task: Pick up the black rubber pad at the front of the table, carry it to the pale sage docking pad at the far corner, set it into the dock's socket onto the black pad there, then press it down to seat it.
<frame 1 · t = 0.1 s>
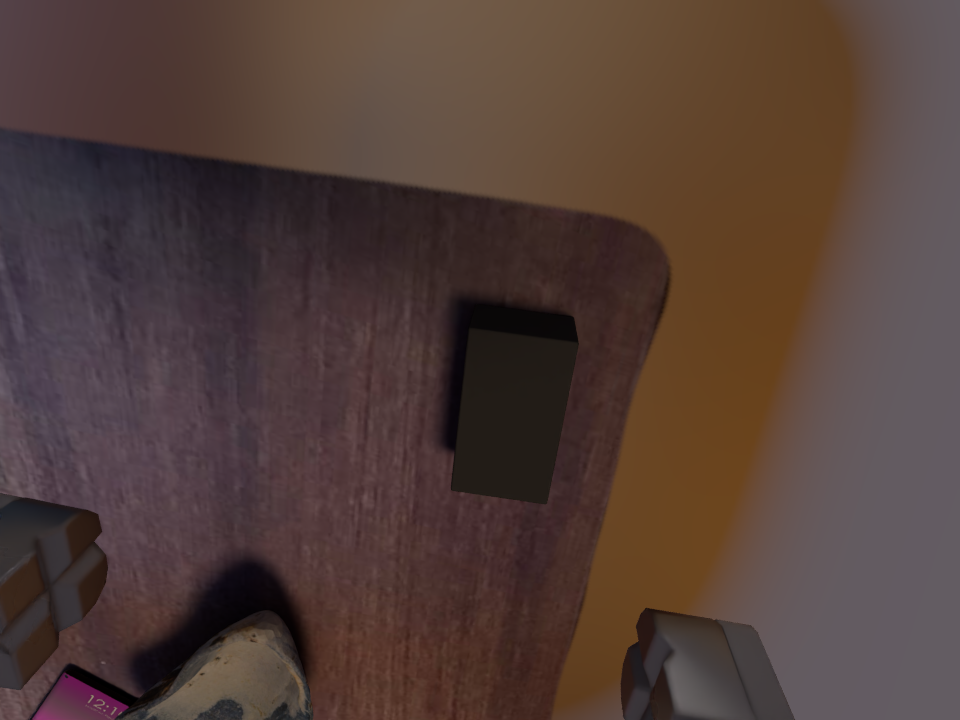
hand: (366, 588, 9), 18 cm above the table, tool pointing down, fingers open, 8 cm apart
black pad: (512, 389, 27), on the table
seashell: (236, 647, 36), on the table
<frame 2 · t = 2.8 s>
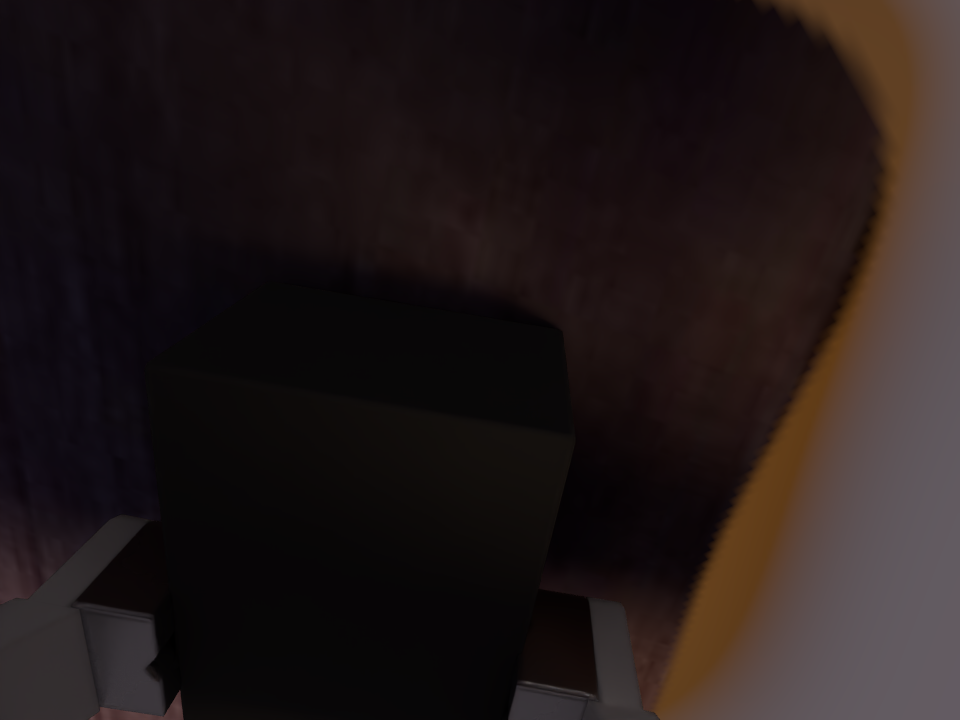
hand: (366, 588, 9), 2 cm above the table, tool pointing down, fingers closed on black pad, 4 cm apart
black pad: (393, 518, 10), on the table, touching gripper
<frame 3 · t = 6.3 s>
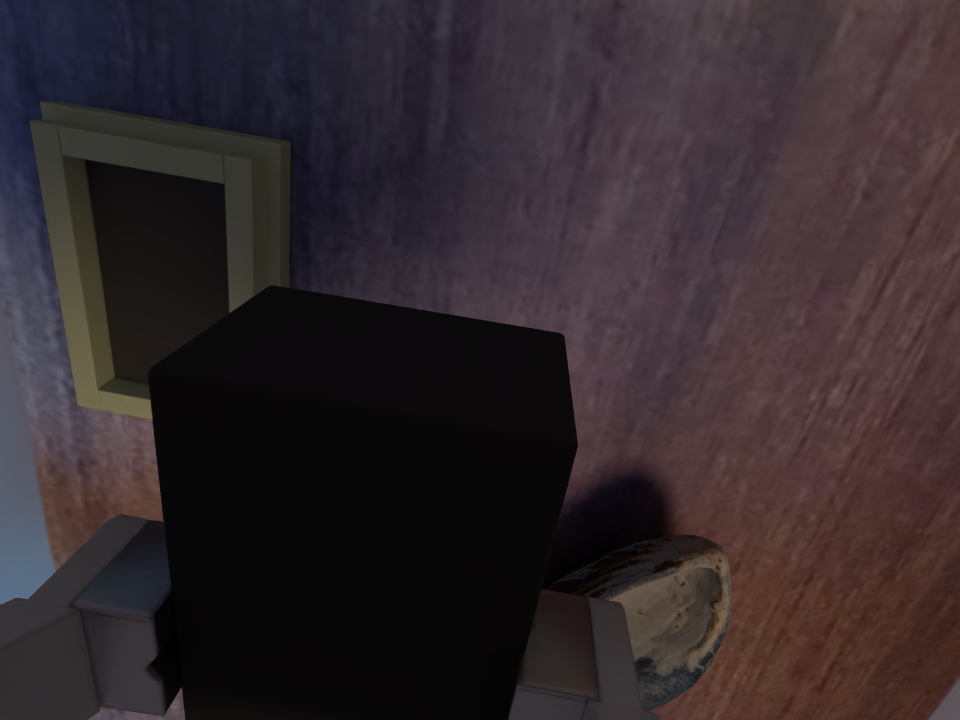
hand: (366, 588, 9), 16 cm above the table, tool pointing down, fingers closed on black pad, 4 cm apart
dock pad: (186, 280, 24), on the table
black pad: (394, 521, 10), point 14 cm above the table, touching gripper
seashell: (569, 589, 29), on the table
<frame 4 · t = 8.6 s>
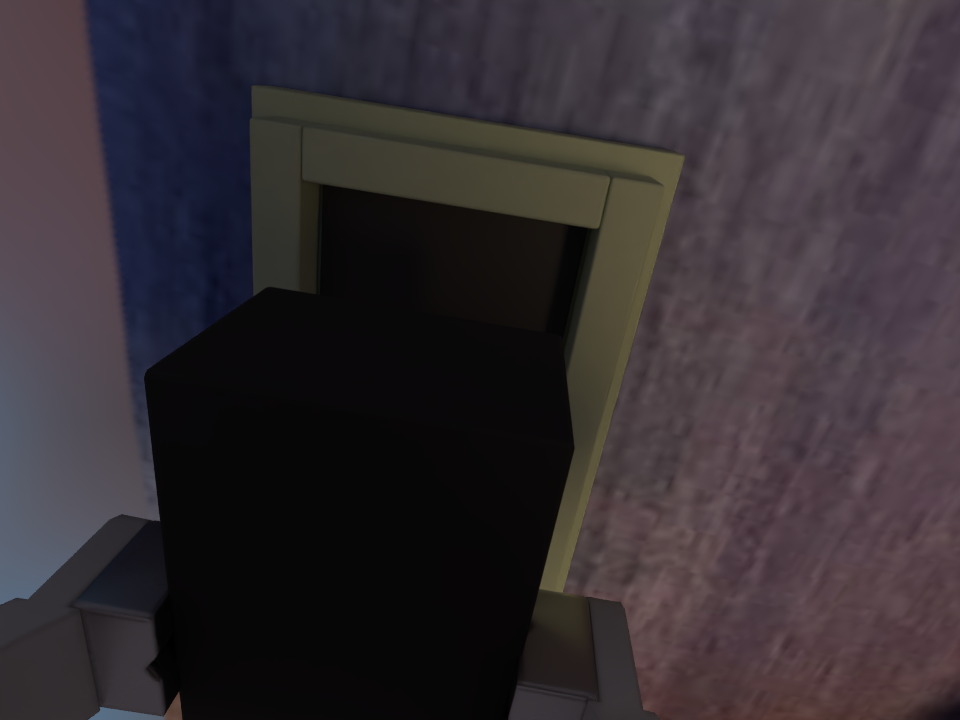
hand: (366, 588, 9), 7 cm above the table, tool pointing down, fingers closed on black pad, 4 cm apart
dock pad: (438, 374, 15), on the table
black pad: (392, 522, 10), point 5 cm above the table, touching gripper
when the fingers open (3 cm above the table, at t = 10.1 s): black pad stays where it is, resting on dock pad.
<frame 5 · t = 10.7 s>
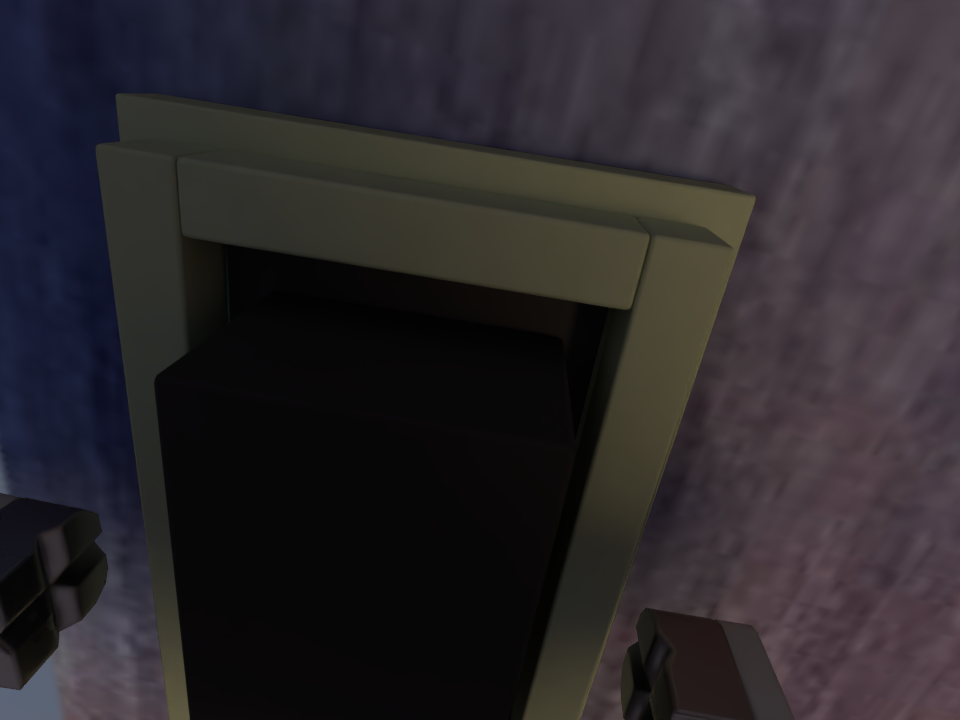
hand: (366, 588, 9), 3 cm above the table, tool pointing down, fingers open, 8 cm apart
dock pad: (406, 475, 11), on the table
black pad: (395, 523, 10), point 1 cm above the table, touching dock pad
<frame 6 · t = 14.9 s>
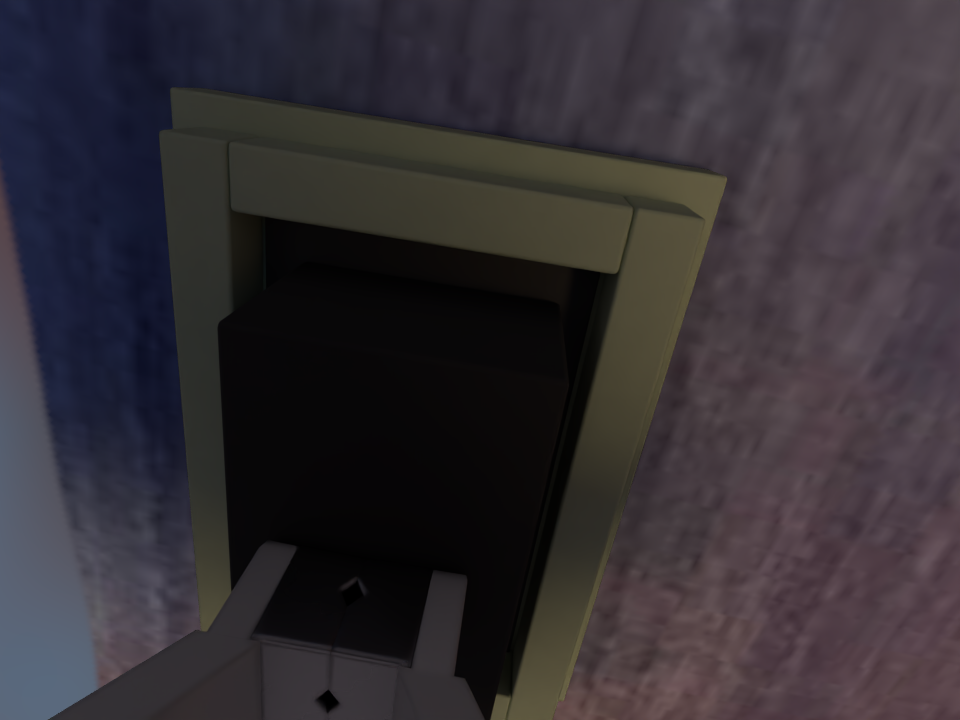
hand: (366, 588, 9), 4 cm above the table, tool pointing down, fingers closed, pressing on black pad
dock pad: (418, 435, 12), on the table
black pad: (410, 474, 11), point 1 cm above the table, touching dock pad, gripper
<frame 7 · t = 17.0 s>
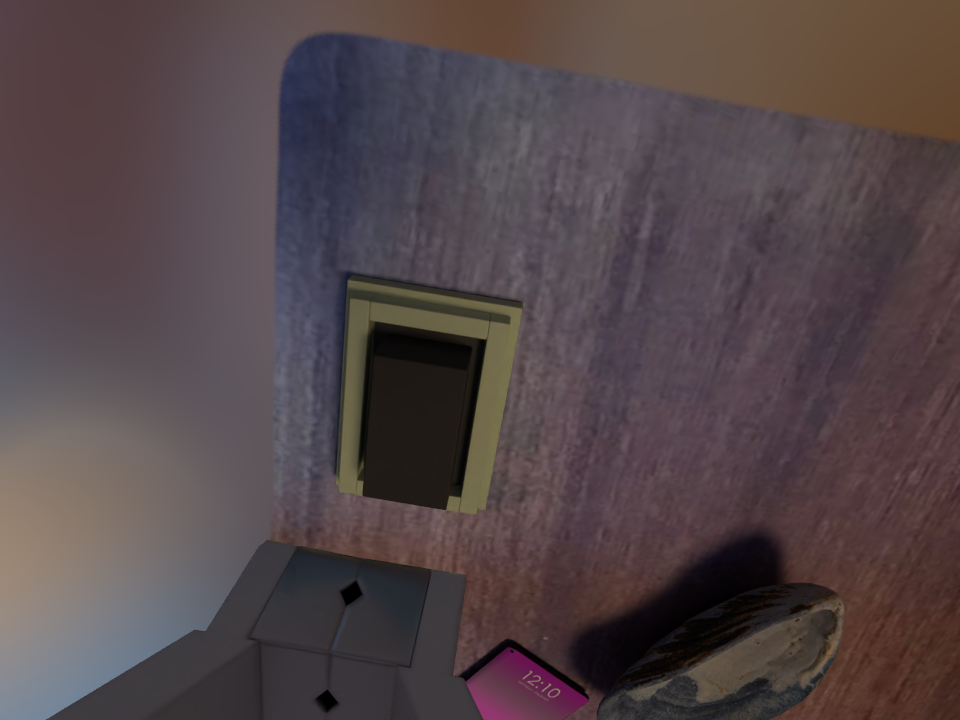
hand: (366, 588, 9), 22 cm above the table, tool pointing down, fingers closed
smartphone: (481, 717, 42), on the table
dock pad: (424, 395, 32), on the table
black pad: (421, 408, 31), point 1 cm above the table, touching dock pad
seashell: (695, 624, 37), on the table
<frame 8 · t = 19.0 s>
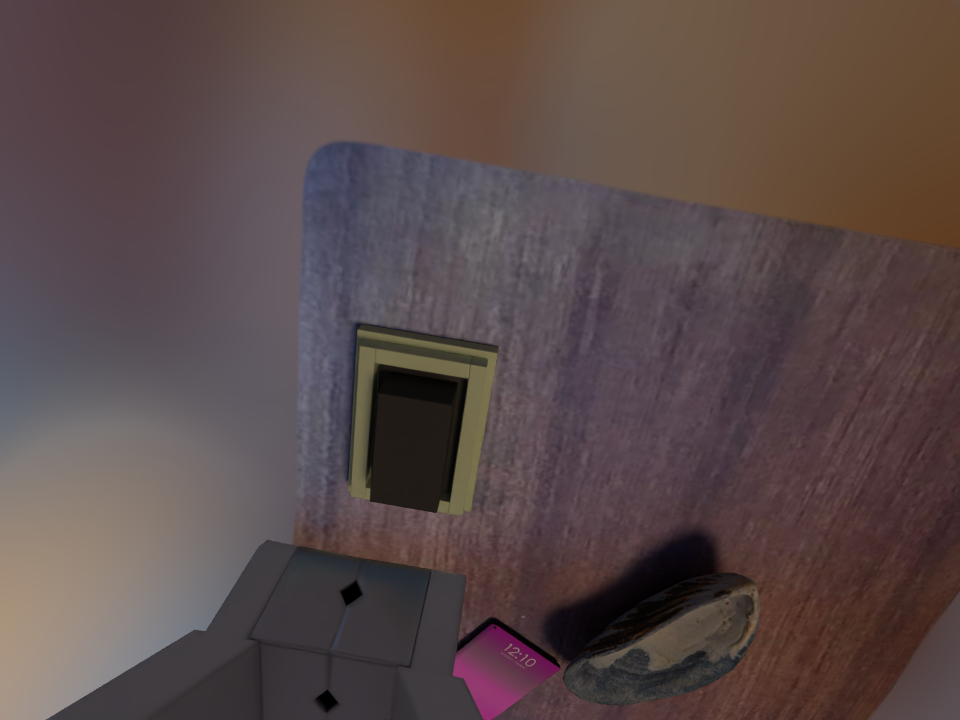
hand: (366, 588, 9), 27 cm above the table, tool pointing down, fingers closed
smartphone: (471, 683, 49), on the table
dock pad: (420, 419, 39), on the table
black pad: (417, 430, 38), point 1 cm above the table, touching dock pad
seashell: (648, 606, 44), on the table
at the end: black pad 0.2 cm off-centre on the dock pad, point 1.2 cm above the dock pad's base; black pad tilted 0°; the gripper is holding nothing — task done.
